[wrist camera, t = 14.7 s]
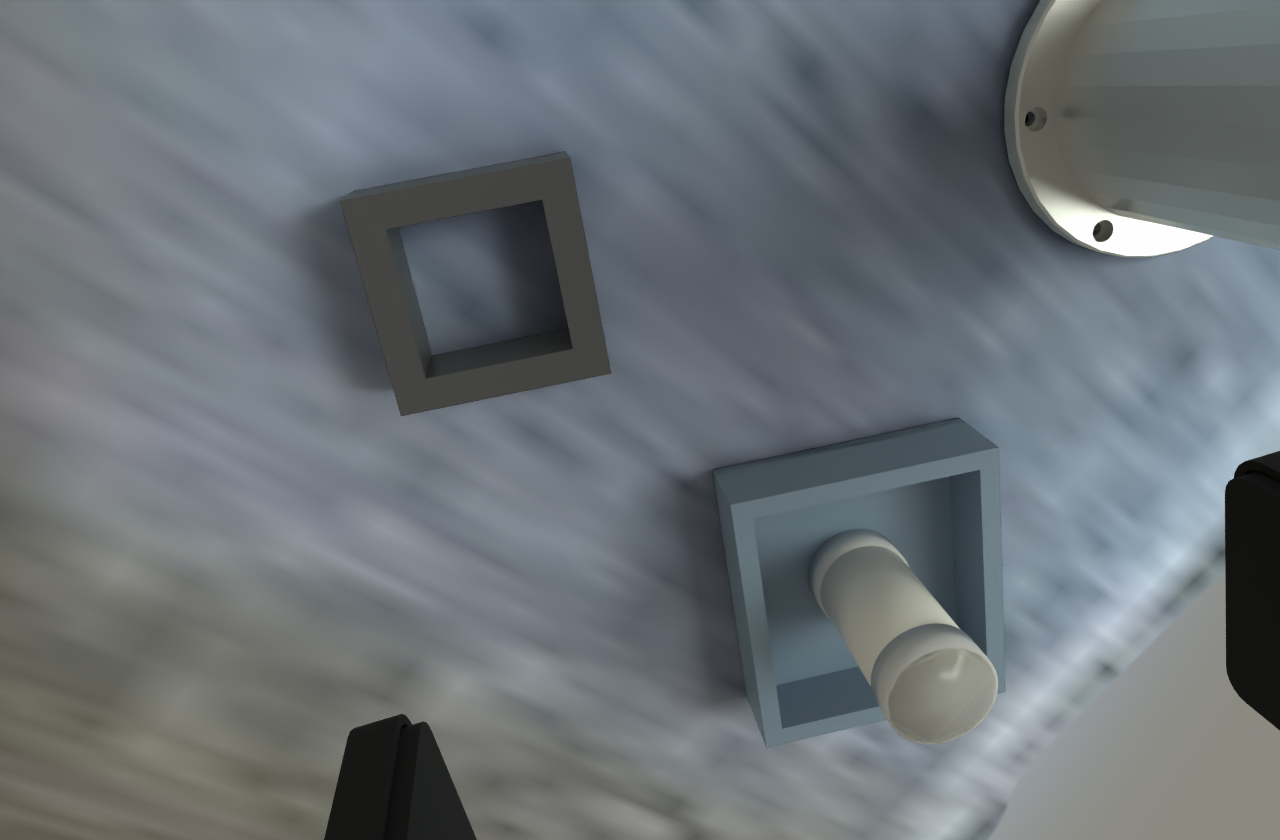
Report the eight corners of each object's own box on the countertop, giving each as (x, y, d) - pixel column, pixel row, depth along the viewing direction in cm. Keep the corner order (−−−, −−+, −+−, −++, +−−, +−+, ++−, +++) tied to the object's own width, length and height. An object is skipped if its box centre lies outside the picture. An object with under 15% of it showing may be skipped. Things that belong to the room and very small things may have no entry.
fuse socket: (565, 151, 34) (570, 157, 31) (603, 351, 36) (611, 373, 34) (354, 191, 33) (339, 200, 30) (409, 390, 36) (400, 416, 33)
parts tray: (958, 417, 40) (998, 447, 36) (968, 646, 44) (1005, 691, 41) (712, 469, 39) (730, 505, 36) (747, 697, 43) (766, 747, 40)
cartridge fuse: (895, 519, 40) (996, 633, 32) (901, 600, 42) (999, 729, 33) (803, 540, 40) (881, 660, 32) (812, 620, 41) (889, 755, 33)
